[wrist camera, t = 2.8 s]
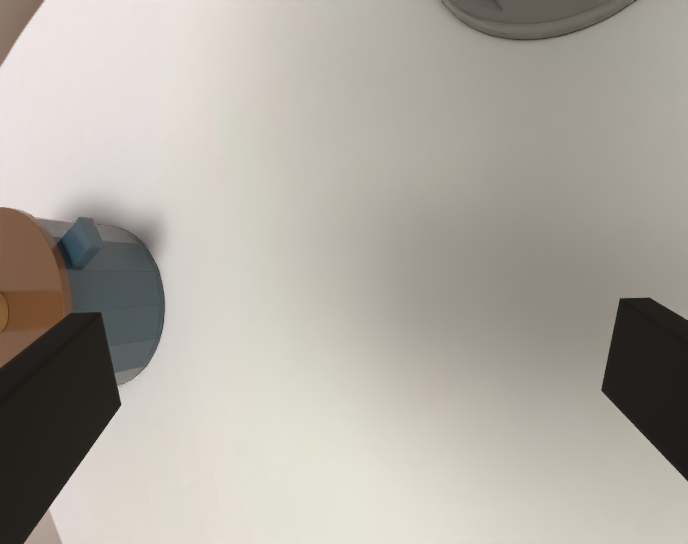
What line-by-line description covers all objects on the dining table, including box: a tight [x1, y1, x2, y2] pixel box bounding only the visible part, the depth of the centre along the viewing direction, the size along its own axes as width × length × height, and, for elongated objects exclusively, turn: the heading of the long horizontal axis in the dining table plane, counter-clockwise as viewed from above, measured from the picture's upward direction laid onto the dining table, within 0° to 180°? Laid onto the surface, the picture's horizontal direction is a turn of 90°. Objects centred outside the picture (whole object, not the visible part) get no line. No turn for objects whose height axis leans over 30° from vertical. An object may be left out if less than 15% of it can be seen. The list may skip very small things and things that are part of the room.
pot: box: [35, 217, 164, 385], centre depth 38 cm, size 15×20×8 cm
